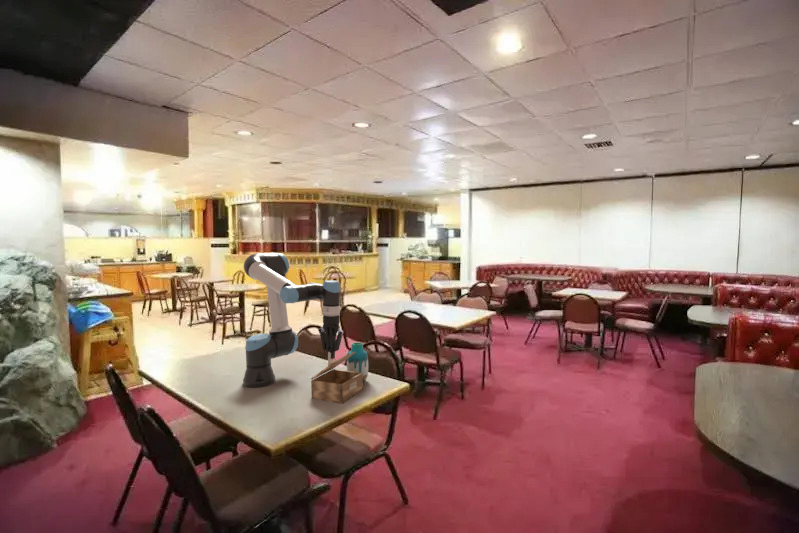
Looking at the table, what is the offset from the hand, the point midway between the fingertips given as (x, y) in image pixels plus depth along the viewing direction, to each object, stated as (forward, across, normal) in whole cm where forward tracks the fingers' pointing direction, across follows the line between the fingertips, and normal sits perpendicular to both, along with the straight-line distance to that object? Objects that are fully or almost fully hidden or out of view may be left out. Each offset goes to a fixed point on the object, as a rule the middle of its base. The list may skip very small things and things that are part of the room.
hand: (330, 365), depth 185 cm
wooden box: (+13, +4, 0) cm, 13 cm away
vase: (+13, +4, +18) cm, 23 cm away
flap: (0, +2, 0) cm, 2 cm away
